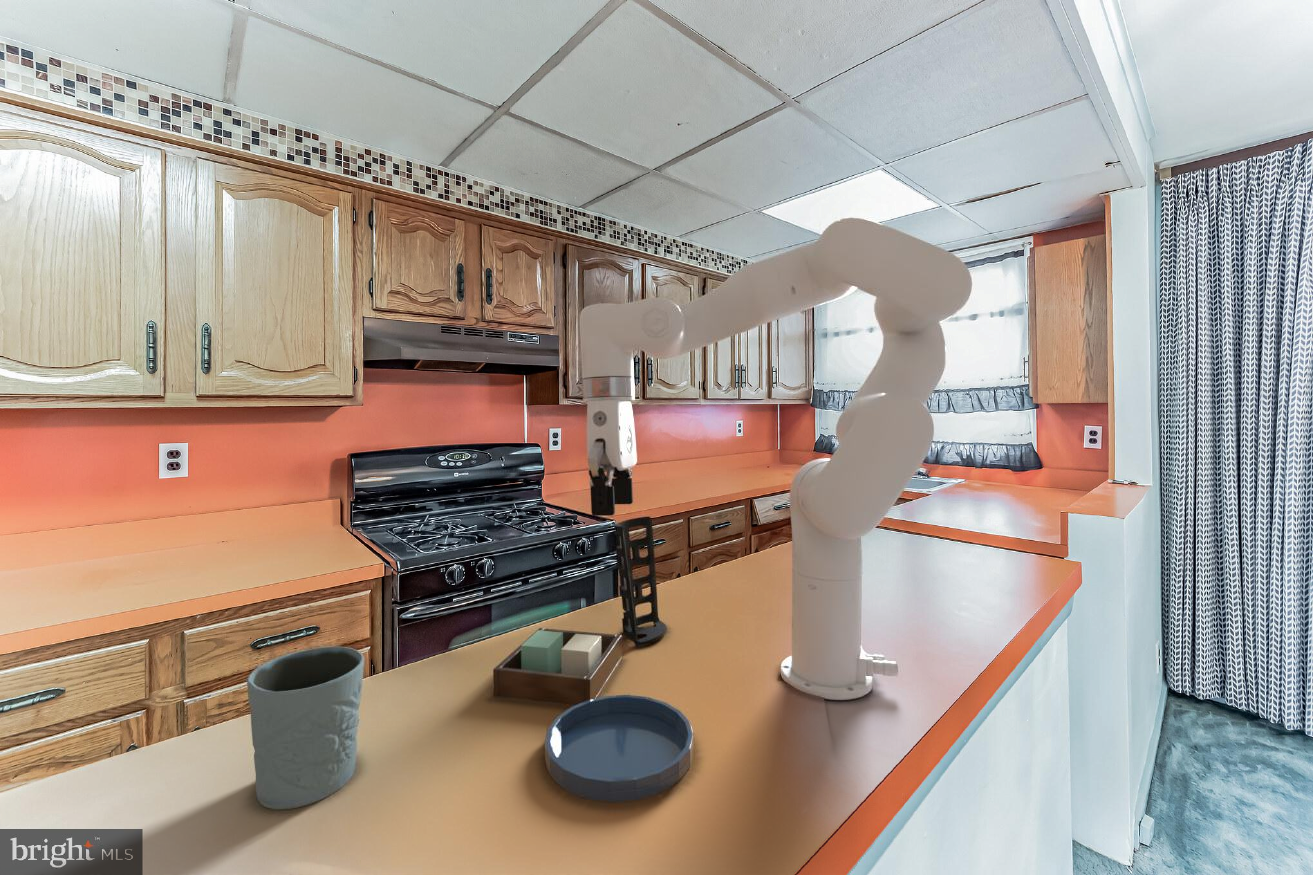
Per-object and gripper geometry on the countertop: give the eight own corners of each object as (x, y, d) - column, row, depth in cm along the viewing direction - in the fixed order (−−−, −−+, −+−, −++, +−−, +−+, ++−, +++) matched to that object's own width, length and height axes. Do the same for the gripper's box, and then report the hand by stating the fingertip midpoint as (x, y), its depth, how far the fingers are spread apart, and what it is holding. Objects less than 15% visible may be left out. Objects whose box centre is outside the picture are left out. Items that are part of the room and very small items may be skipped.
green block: (563, 665, 80) (563, 632, 80) (547, 683, 75) (547, 647, 74) (538, 662, 81) (538, 630, 81) (521, 680, 75) (521, 645, 75)
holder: (659, 648, 87) (647, 525, 87) (614, 648, 88) (603, 528, 88) (671, 623, 98) (660, 514, 98) (631, 624, 99) (620, 517, 99)
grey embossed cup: (288, 752, 60) (286, 646, 60) (382, 747, 61) (380, 643, 60) (223, 819, 50) (220, 692, 49) (337, 813, 51) (334, 688, 50)
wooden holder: (621, 661, 83) (621, 634, 83) (590, 711, 68) (590, 679, 68) (540, 652, 86) (539, 627, 86) (493, 699, 71) (492, 669, 71)
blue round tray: (701, 722, 66) (701, 702, 66) (679, 818, 50) (679, 791, 50) (577, 707, 69) (577, 688, 69) (519, 792, 53) (518, 768, 53)
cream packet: (601, 669, 79) (601, 635, 79) (588, 687, 73) (588, 651, 73) (575, 666, 80) (575, 633, 79) (561, 684, 74) (561, 649, 74)
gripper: (616, 387, 68) (622, 520, 69) (647, 393, 85) (651, 500, 86) (561, 390, 70) (567, 520, 70) (602, 395, 87) (606, 500, 87)
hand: (613, 509), depth 78 cm, fingers open, 9 cm apart
